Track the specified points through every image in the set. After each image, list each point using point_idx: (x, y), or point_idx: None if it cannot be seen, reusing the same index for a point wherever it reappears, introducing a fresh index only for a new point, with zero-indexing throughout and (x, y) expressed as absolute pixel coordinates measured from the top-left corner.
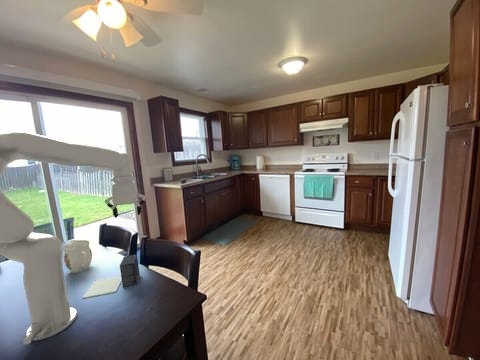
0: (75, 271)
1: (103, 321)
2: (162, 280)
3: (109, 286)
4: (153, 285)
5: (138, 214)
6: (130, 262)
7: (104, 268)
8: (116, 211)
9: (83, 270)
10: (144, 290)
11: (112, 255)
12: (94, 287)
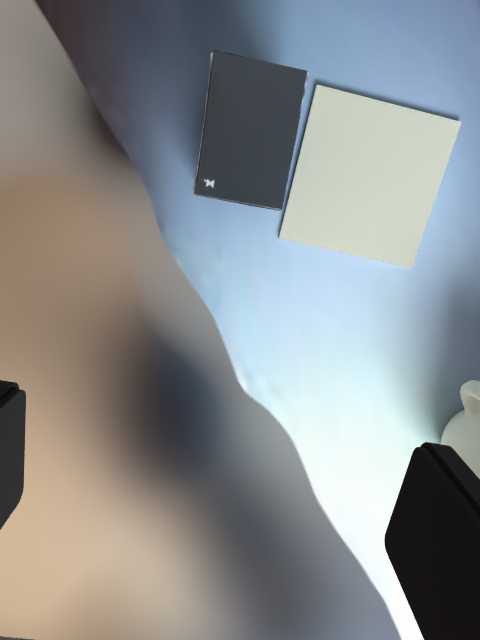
0: None
1: None
2: (82, 56)
3: (347, 156)
4: (132, 31)
5: (7, 382)
6: (235, 66)
7: (372, 379)
8: (458, 574)
9: (463, 410)
10: (178, 6)
11: (337, 505)
12: (413, 192)
